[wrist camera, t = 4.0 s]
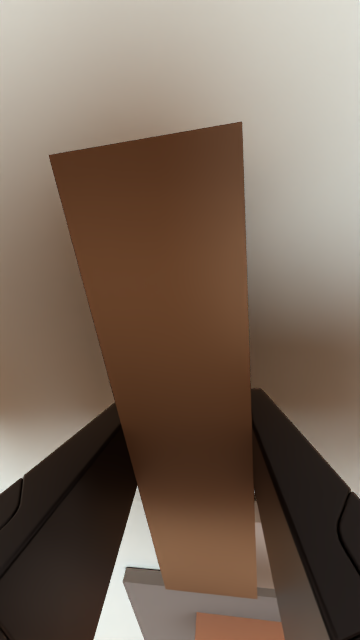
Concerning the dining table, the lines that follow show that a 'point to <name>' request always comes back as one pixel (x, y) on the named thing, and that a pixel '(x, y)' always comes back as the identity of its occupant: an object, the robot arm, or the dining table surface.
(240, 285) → the brown wooden plank
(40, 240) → the dining table surface
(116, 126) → the dining table surface
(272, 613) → the mat
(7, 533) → the robot arm
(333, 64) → the dining table surface
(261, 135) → the dining table surface
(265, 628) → the tile
